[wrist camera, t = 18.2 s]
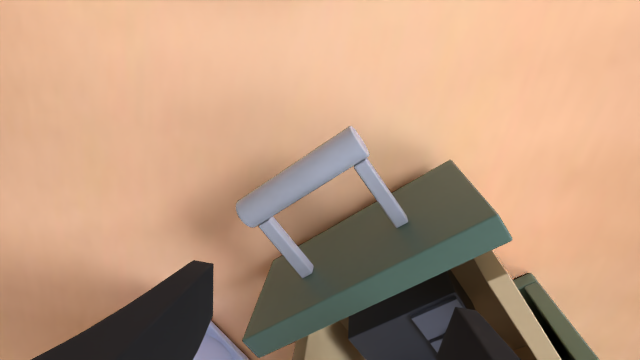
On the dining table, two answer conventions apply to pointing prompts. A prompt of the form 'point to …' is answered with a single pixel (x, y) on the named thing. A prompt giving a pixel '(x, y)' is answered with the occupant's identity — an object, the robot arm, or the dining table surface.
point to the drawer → (379, 256)
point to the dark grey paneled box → (408, 321)
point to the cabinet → (553, 321)
